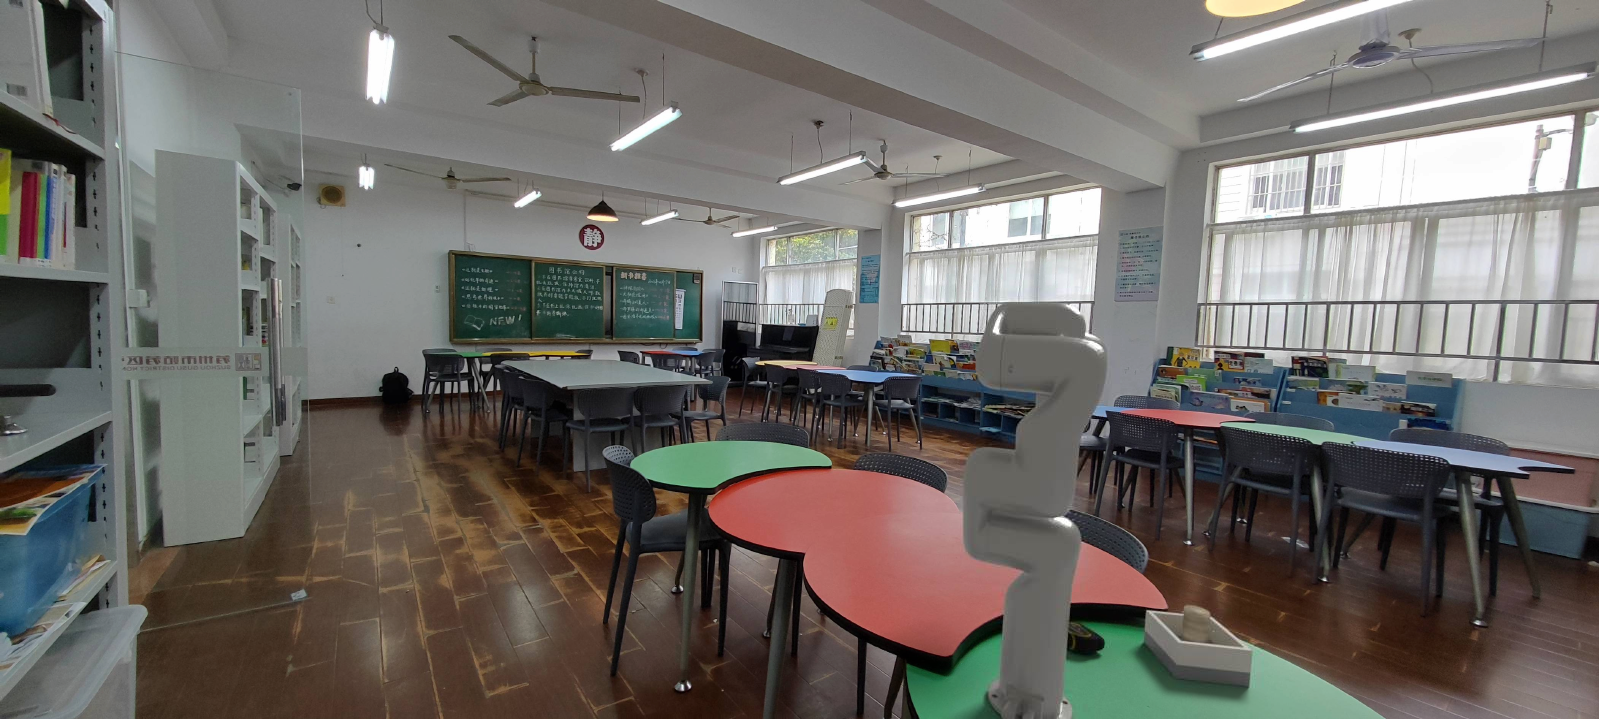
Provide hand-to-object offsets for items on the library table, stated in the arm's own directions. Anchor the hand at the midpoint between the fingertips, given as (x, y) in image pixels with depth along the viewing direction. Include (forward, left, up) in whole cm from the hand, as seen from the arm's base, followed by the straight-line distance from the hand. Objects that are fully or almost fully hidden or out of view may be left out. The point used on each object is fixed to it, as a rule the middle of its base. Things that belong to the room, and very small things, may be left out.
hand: (1049, 482), depth 123 cm
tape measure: (-10, -9, -29) cm, 32 cm away
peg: (-3, -28, -28) cm, 40 cm away
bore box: (-3, -28, -28) cm, 40 cm away
